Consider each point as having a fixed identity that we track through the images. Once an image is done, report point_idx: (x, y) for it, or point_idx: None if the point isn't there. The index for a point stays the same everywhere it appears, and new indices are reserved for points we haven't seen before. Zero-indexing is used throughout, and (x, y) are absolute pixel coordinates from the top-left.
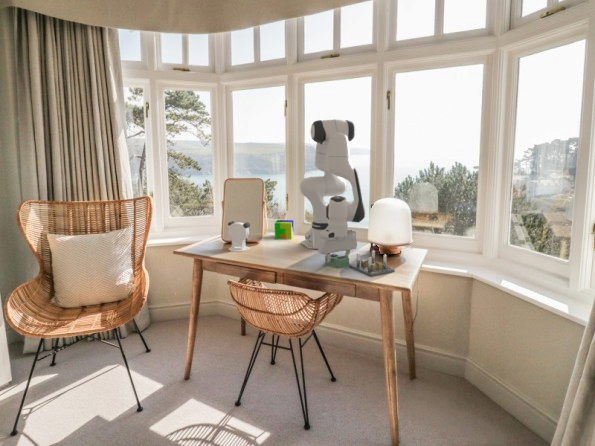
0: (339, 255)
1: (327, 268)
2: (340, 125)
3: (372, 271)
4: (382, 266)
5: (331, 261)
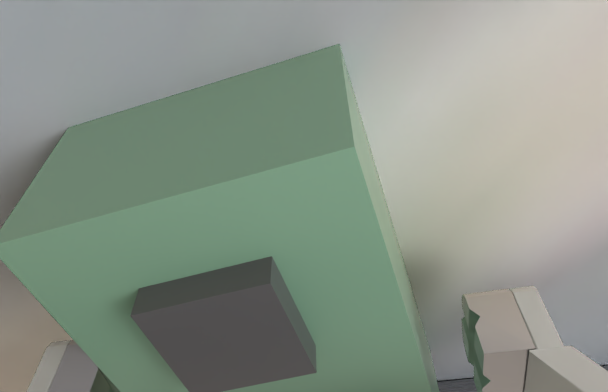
0: (391, 323)
1: None
2: None
3: None
4: None
5: None
